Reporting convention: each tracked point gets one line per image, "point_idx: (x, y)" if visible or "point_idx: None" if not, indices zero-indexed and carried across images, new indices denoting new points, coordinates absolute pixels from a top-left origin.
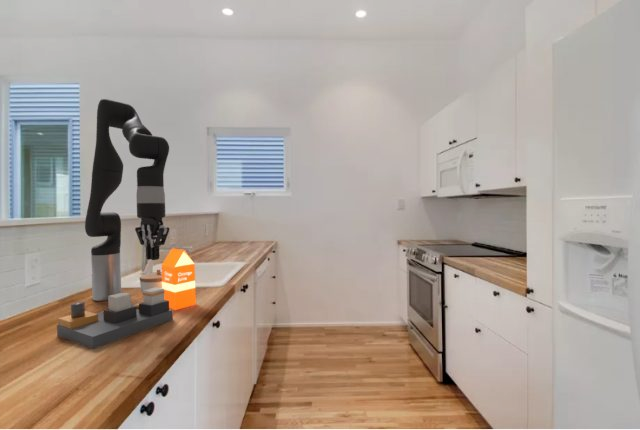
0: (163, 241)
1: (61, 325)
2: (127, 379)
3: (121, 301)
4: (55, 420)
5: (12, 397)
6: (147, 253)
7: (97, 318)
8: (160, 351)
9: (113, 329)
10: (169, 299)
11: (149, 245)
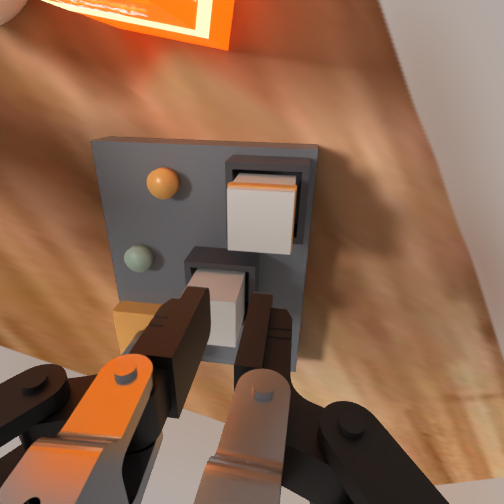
0: (395, 473)
1: None
2: (492, 403)
3: (239, 321)
4: (473, 476)
5: None
6: (195, 370)
7: None
8: (471, 317)
9: (297, 333)
10: (165, 34)
11: (162, 415)
